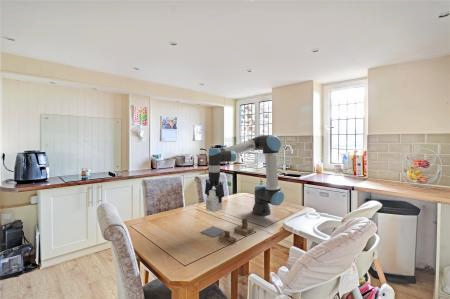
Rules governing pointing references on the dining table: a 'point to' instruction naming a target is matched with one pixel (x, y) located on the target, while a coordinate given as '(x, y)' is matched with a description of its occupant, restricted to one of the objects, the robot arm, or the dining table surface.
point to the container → (212, 201)
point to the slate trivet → (213, 231)
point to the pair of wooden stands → (239, 229)
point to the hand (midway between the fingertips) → (214, 206)
